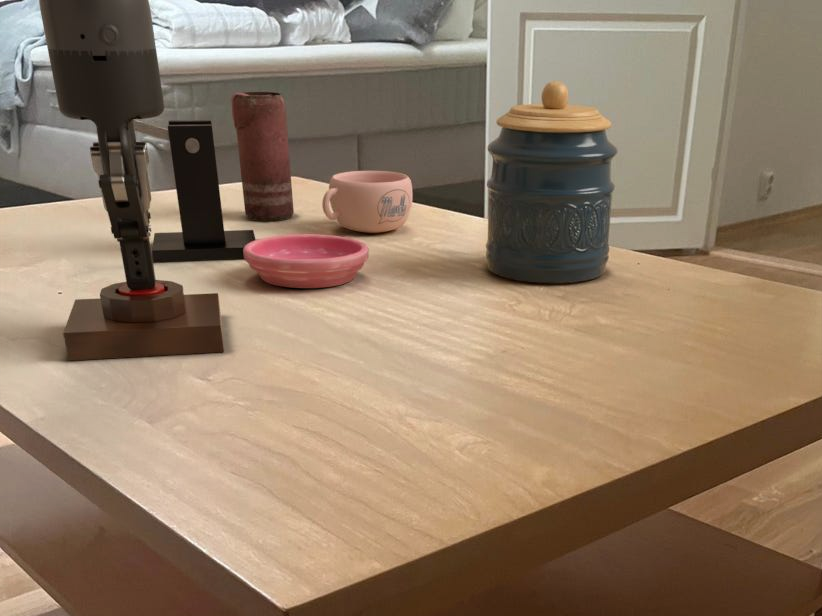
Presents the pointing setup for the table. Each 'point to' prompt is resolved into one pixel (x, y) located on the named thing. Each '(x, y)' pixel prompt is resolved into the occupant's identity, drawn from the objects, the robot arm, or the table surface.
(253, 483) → the table surface
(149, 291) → the button
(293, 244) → the pink bowl
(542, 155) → the canister
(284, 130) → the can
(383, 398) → the table surface
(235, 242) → the bracket
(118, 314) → the control block
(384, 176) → the mug
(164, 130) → the lever
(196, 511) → the table surface
